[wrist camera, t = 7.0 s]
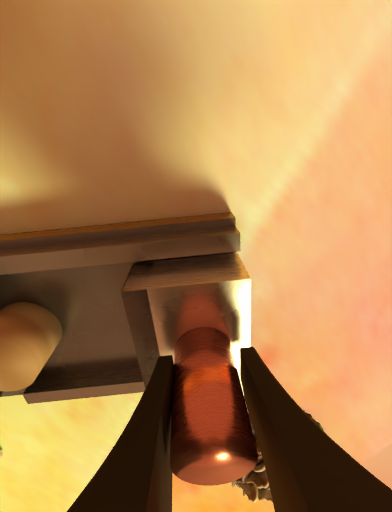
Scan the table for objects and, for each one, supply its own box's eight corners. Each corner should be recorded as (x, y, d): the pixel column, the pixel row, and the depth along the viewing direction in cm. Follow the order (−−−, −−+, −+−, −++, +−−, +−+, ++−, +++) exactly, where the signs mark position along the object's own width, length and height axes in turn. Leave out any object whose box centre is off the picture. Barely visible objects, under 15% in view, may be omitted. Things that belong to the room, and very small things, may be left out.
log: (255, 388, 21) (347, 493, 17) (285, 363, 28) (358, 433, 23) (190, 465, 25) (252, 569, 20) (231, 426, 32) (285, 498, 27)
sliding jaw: (154, 364, 17) (133, 525, 10) (133, 263, 14) (76, 392, 6) (239, 355, 17) (280, 510, 10) (237, 253, 14) (297, 370, 7)
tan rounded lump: (11, 353, 16) (-23, 394, 14) (-15, 305, 15) (-60, 341, 12) (70, 347, 16) (47, 387, 14) (50, 299, 15) (20, 333, 12)
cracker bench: (-15, 385, 19) (-99, 484, 13) (-106, 245, 14) (-297, 309, 9) (235, 359, 19) (256, 447, 14) (231, 212, 14) (262, 254, 9)
